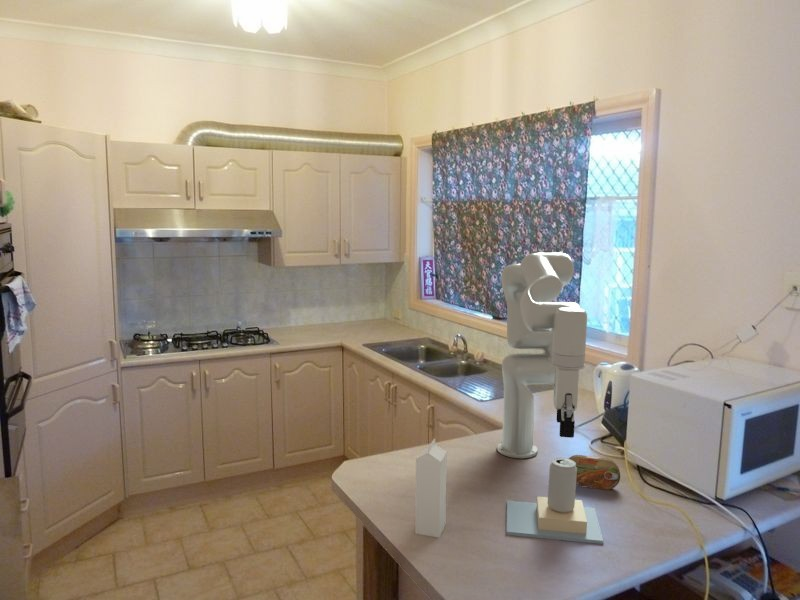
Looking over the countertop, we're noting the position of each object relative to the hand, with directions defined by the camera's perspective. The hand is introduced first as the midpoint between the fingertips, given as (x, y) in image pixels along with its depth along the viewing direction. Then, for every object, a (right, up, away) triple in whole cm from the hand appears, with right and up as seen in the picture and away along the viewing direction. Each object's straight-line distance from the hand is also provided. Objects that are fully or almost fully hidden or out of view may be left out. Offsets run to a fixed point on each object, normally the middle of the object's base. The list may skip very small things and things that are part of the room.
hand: (564, 429), depth 149 cm
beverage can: (0, -20, +3) cm, 20 cm away
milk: (-32, -24, 0) cm, 40 cm away
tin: (+14, -21, +24) cm, 35 cm away
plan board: (-2, -24, +4) cm, 24 cm away
